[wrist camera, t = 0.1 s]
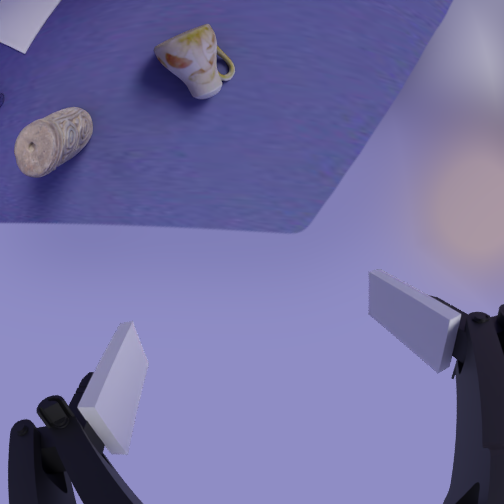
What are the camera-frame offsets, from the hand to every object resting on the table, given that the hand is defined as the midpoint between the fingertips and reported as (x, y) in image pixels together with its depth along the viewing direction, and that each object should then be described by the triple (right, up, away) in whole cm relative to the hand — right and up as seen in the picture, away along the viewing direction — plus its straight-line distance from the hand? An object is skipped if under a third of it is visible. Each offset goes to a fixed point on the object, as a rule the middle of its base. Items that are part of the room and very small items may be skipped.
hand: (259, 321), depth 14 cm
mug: (-7, +27, +15) cm, 32 cm away
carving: (-24, +20, +15) cm, 35 cm away
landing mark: (-33, +40, +1) cm, 52 cm away
